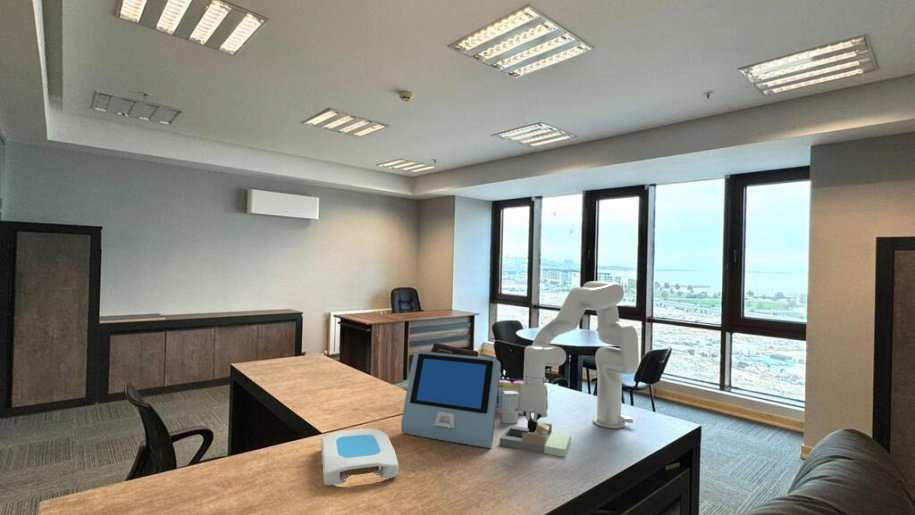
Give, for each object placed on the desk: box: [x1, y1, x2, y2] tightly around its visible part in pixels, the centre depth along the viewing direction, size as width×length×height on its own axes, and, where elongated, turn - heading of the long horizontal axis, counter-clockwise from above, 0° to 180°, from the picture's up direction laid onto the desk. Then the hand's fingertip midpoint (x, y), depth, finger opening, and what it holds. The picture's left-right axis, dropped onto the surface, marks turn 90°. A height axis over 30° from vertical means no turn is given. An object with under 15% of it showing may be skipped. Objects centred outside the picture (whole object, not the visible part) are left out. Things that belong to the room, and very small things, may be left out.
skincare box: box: [501, 391, 519, 424], centre depth 180 cm, size 6×4×12 cm
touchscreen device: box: [400, 350, 502, 449], centre depth 166 cm, size 35×20×30 cm, turn 70°
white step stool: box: [320, 427, 399, 486], centre depth 138 cm, size 21×28×6 cm
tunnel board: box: [499, 421, 572, 458], centre depth 158 cm, size 23×14×6 cm, turn 68°
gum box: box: [496, 378, 524, 416], centre depth 194 cm, size 24×8×14 cm, turn 85°
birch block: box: [534, 421, 550, 437], centre depth 157 cm, size 4×4×4 cm
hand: (531, 431), depth 158 cm, fingers closed
